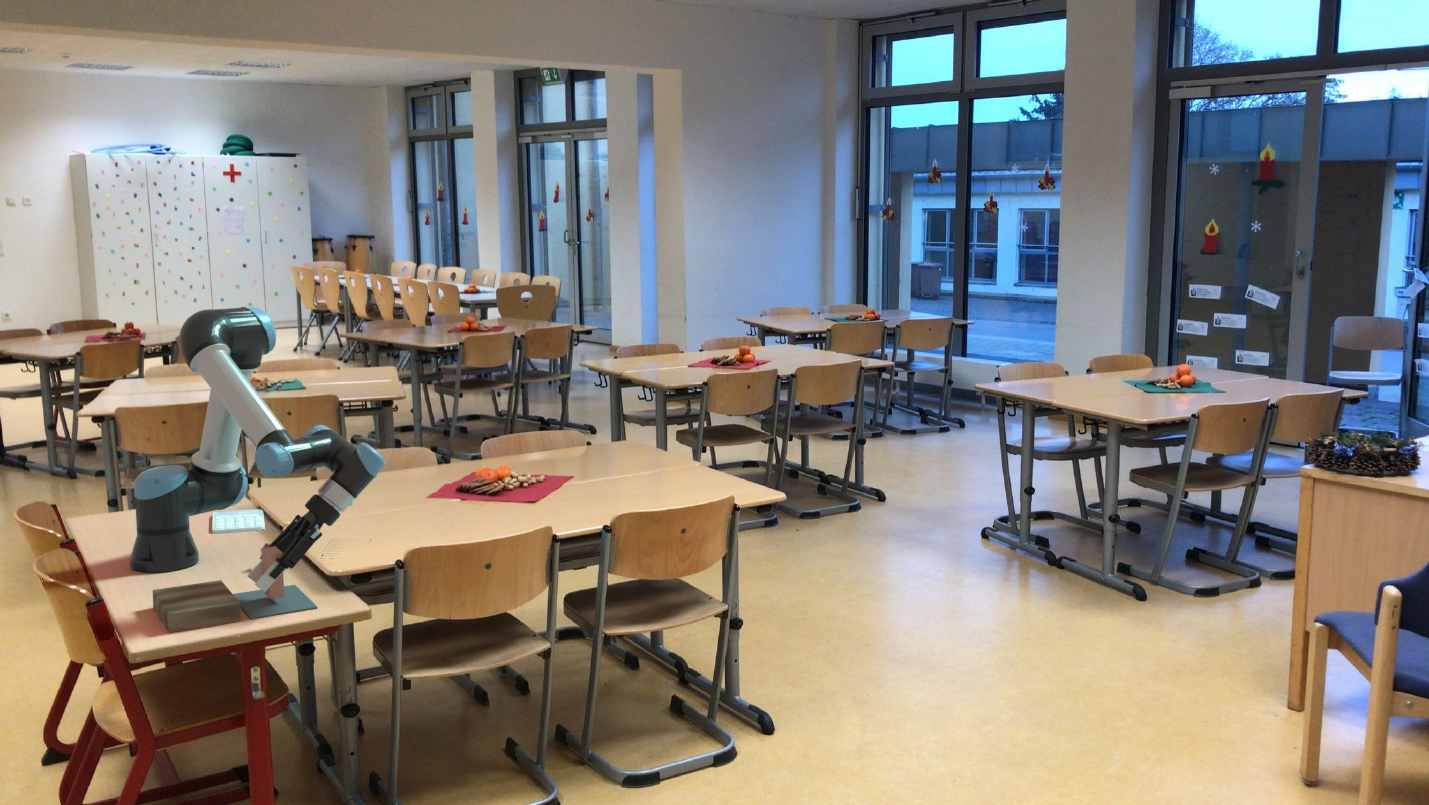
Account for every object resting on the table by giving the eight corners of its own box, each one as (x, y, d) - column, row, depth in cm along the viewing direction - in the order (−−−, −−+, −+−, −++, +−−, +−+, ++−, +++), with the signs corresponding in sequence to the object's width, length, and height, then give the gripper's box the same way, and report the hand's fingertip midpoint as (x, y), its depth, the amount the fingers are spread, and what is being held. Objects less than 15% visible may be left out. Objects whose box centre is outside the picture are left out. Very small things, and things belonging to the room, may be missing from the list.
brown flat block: (153, 607, 254) (152, 590, 254) (221, 597, 262) (221, 580, 261) (169, 632, 240) (168, 614, 239) (240, 621, 247) (240, 602, 247)
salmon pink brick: (263, 591, 261) (261, 548, 260) (276, 589, 263) (275, 546, 261) (270, 598, 256) (268, 554, 255) (284, 596, 258) (282, 552, 256)
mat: (231, 595, 263) (231, 594, 263) (294, 586, 271) (294, 584, 271) (250, 619, 249) (250, 617, 249) (317, 608, 256) (317, 606, 256)
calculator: (211, 535, 313) (211, 528, 312) (212, 517, 331) (212, 510, 330) (265, 532, 318) (265, 525, 317) (262, 514, 336) (262, 507, 336)
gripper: (354, 522, 258) (280, 606, 251) (328, 504, 273) (258, 582, 267) (329, 502, 254) (253, 586, 247) (304, 484, 270) (232, 563, 263)
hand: (256, 584), depth 257 cm, fingers closed on salmon pink brick, 6 cm apart
